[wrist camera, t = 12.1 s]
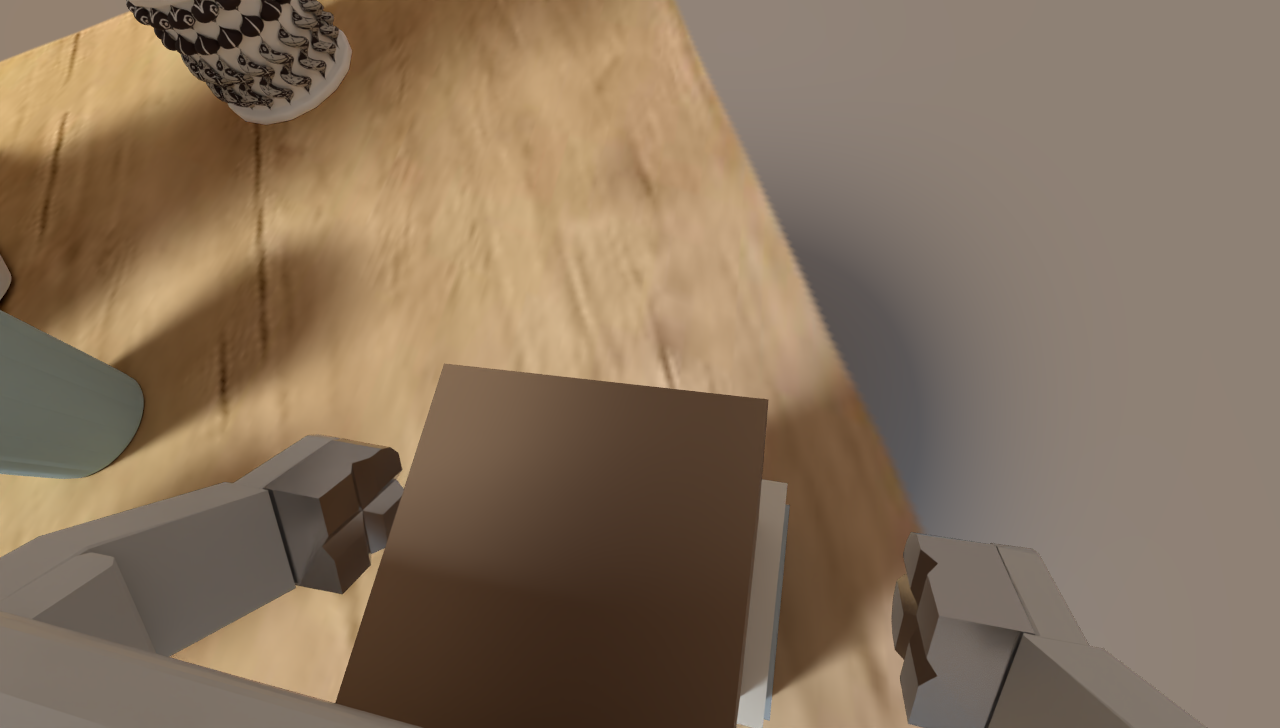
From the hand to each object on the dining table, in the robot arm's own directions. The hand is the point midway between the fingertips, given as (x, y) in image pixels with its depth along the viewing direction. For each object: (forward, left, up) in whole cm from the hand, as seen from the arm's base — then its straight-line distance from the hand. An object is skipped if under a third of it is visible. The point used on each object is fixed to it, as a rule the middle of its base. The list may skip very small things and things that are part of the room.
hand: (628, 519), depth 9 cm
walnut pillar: (+1, -1, -6) cm, 6 cm away
